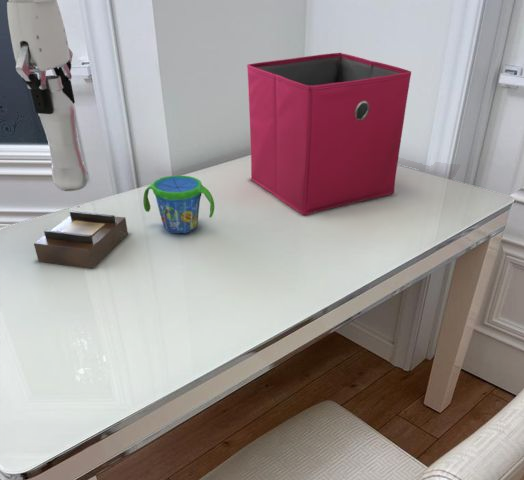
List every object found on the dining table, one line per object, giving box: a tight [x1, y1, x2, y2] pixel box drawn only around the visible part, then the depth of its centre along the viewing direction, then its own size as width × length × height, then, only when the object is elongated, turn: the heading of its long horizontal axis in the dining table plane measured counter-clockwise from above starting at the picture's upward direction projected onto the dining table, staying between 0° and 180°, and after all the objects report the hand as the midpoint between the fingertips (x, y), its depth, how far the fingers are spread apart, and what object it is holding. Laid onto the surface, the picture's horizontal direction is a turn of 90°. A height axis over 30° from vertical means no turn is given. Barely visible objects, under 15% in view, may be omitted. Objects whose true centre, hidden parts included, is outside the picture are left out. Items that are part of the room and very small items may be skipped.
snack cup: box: [142, 175, 215, 235], centre depth 120 cm, size 16×10×10 cm
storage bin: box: [246, 52, 412, 217], centre depth 134 cm, size 28×29×28 cm
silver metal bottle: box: [37, 74, 89, 192], centre depth 102 cm, size 6×7×20 cm
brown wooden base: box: [33, 210, 129, 269], centre depth 114 cm, size 12×16×6 cm
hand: (55, 107), depth 99 cm, fingers closed on silver metal bottle, 6 cm apart
